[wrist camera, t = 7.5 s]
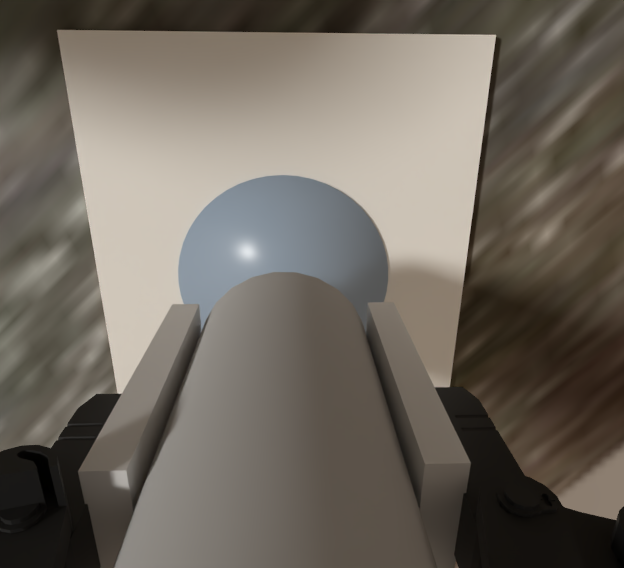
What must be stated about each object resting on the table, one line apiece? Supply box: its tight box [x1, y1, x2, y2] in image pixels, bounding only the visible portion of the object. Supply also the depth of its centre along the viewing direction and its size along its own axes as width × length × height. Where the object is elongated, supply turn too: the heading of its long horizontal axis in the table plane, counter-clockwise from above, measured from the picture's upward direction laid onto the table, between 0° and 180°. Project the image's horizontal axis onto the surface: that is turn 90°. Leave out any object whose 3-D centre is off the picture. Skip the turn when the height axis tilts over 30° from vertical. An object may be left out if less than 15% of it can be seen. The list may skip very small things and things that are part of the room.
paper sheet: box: [57, 30, 496, 394], centre depth 19 cm, size 17×14×1 cm
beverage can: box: [113, 272, 437, 568], centre depth 9 cm, size 5×5×12 cm
